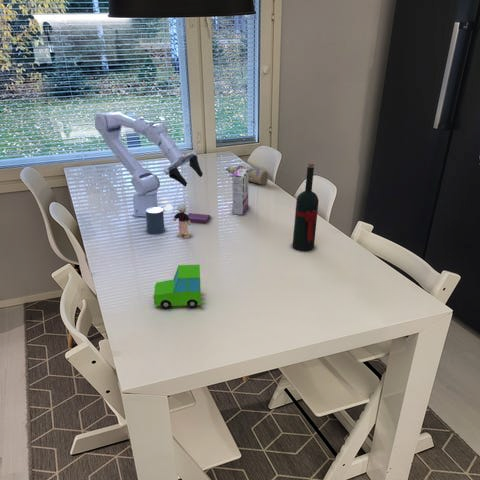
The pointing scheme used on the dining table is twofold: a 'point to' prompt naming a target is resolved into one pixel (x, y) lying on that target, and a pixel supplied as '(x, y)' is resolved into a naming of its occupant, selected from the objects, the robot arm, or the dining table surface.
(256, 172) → the decorative bottle
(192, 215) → the purple box
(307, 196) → the wine bottle
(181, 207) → the grandmother figurine
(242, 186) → the candy bar box
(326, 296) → the dining table surface
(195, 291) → the toy car
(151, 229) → the tin can
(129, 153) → the robot arm
